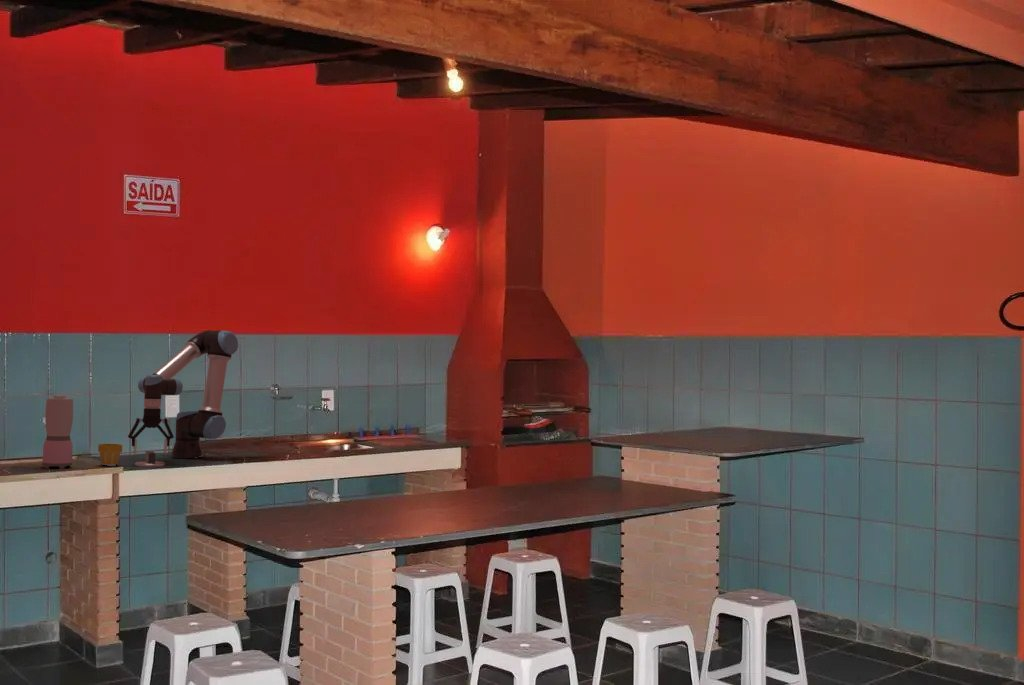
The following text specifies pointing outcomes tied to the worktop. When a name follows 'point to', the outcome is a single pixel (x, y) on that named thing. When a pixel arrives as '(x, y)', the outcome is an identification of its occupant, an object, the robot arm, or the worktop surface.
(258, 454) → the worktop surface
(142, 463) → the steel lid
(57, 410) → the blender
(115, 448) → the plant pot
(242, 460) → the worktop surface
